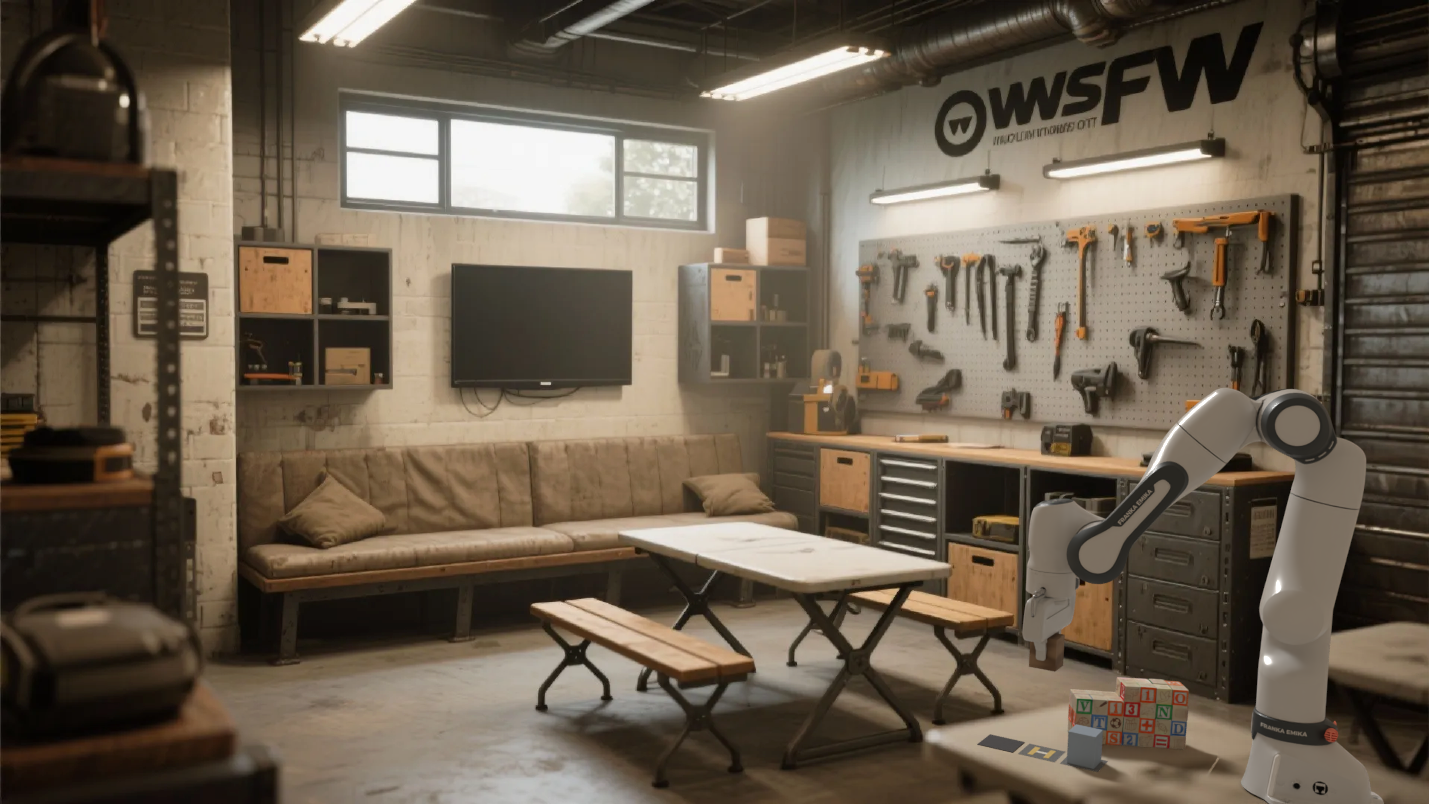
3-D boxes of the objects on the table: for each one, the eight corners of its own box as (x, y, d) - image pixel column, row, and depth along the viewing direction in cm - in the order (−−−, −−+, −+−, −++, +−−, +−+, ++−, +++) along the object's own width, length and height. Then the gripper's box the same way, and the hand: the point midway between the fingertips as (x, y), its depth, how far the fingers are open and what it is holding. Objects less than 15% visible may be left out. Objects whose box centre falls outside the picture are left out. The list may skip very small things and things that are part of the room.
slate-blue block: (1101, 761, 221) (1102, 729, 220) (1093, 769, 216) (1095, 737, 216) (1074, 755, 223) (1076, 724, 223) (1066, 762, 219) (1068, 731, 219)
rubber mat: (1024, 743, 230) (1024, 741, 230) (1012, 754, 224) (1012, 752, 224) (989, 736, 233) (990, 734, 233) (977, 746, 228) (977, 744, 228)
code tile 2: (1107, 762, 221) (1108, 760, 221) (1097, 773, 215) (1097, 772, 215) (1070, 754, 225) (1070, 752, 225) (1059, 765, 219) (1059, 763, 219)
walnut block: (1063, 665, 224) (1064, 634, 224) (1055, 671, 220) (1056, 640, 219) (1037, 660, 227) (1038, 630, 226) (1028, 666, 222) (1030, 635, 222)
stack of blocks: (1073, 744, 231) (1076, 683, 230) (1066, 733, 237) (1070, 673, 236) (1186, 751, 229) (1189, 689, 228) (1176, 740, 235) (1180, 680, 234)
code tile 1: (1065, 753, 225) (1065, 751, 225) (1054, 763, 219) (1054, 762, 219) (1029, 745, 229) (1029, 743, 229) (1017, 755, 223) (1017, 753, 223)
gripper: (1050, 595, 212) (1046, 671, 213) (1082, 577, 229) (1078, 647, 230) (1015, 590, 215) (1012, 665, 216) (1050, 573, 232) (1046, 642, 233)
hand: (1046, 655), depth 223 cm, fingers closed on walnut block, 5 cm apart
